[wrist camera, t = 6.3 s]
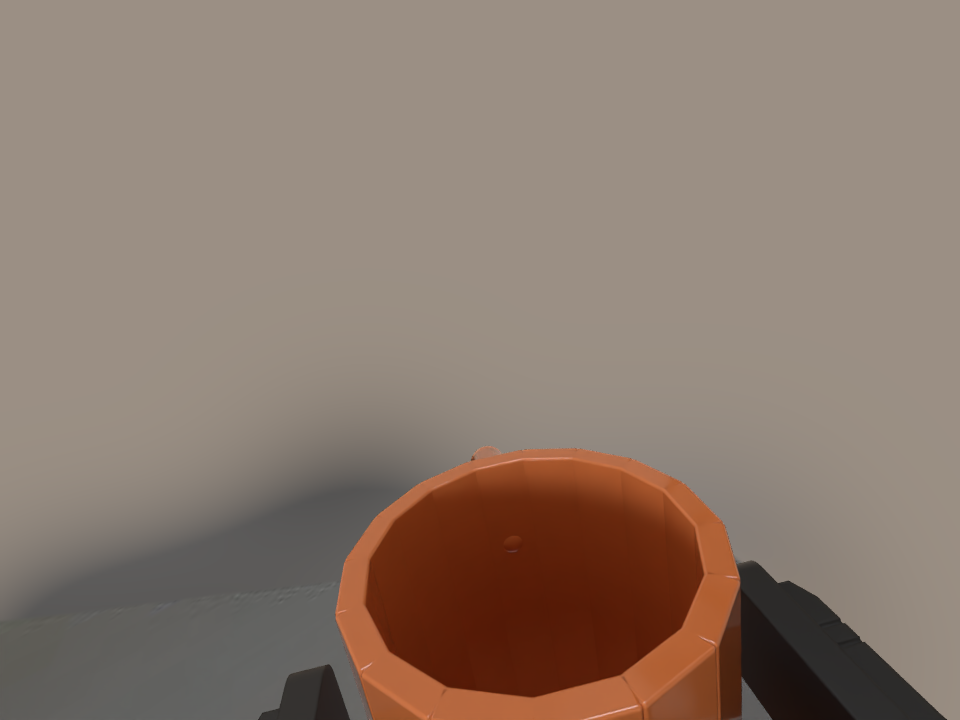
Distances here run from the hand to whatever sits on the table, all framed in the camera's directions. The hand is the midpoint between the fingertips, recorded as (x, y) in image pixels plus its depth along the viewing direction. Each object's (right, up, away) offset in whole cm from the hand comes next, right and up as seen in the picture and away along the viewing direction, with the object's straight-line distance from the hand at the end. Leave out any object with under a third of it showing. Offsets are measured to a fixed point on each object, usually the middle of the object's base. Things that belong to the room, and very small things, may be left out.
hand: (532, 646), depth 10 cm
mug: (+1, -6, +3) cm, 7 cm away
